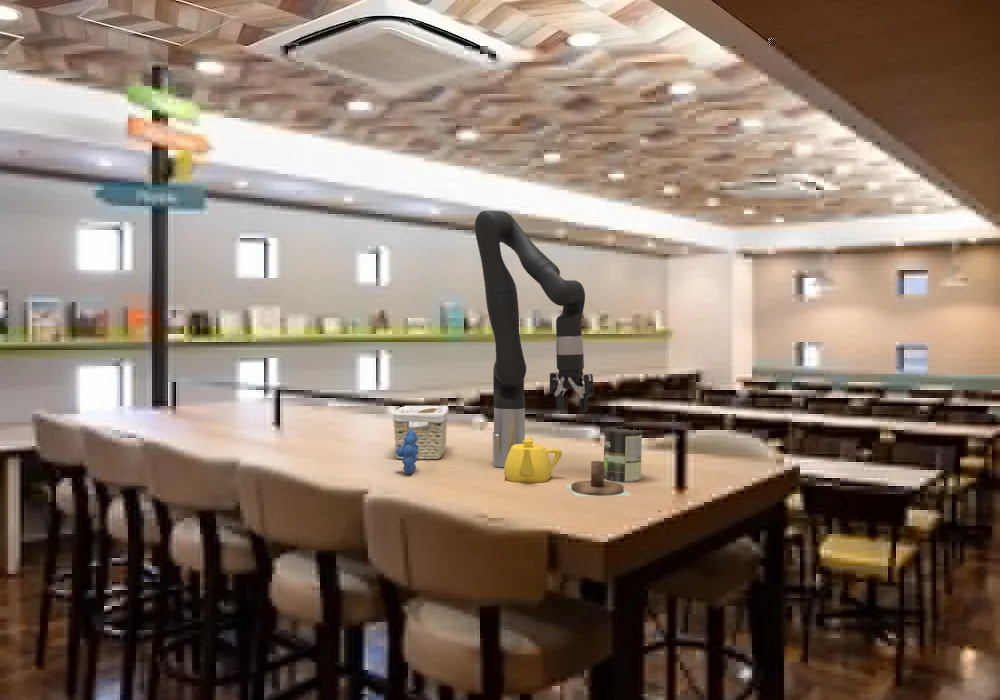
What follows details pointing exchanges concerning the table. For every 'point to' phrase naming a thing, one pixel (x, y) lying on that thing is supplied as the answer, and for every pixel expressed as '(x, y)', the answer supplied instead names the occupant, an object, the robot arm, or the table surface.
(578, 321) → the robot arm
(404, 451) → the grapes
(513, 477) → the teapot
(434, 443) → the storage basket
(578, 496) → the mat
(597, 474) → the lid
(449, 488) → the table surface
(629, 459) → the coffee can
